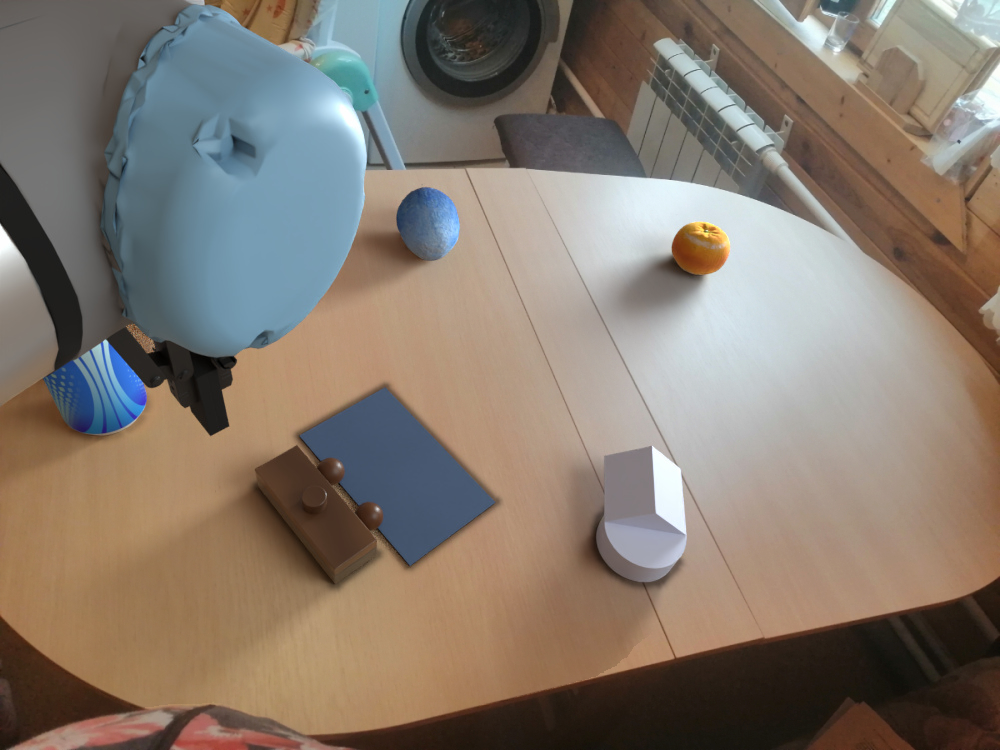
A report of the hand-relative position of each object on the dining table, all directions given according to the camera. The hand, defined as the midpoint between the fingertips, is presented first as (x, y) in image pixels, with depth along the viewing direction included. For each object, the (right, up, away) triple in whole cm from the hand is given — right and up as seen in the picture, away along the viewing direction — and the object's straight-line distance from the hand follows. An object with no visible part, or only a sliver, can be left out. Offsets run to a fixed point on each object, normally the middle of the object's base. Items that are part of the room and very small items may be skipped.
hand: (210, 418), depth 52 cm
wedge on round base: (+36, -14, +28) cm, 48 cm away
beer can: (-22, -1, +27) cm, 35 cm away
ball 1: (+3, -7, +25) cm, 26 cm away
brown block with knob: (+2, -12, +23) cm, 26 cm away
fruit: (+51, +20, +61) cm, 82 cm away
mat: (+9, -7, +28) cm, 31 cm away
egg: (+10, +23, +54) cm, 60 cm away
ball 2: (+7, -11, +22) cm, 26 cm away
